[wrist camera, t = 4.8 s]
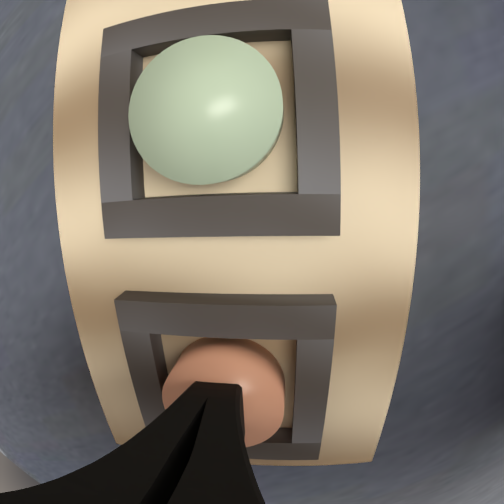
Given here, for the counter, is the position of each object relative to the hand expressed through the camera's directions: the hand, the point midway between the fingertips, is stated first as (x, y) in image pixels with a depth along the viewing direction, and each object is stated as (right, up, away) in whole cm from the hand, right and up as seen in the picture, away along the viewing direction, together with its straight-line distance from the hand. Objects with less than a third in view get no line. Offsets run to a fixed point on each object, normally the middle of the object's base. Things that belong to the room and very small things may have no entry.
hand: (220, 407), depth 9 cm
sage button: (0, +8, -1) cm, 8 cm away
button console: (0, +9, +2) cm, 9 cm away
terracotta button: (0, 0, +1) cm, 1 cm away
